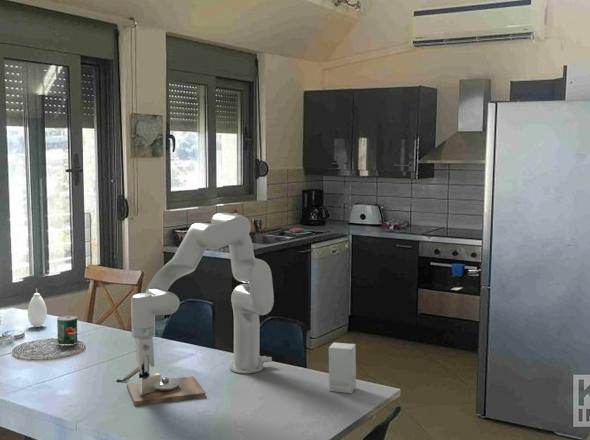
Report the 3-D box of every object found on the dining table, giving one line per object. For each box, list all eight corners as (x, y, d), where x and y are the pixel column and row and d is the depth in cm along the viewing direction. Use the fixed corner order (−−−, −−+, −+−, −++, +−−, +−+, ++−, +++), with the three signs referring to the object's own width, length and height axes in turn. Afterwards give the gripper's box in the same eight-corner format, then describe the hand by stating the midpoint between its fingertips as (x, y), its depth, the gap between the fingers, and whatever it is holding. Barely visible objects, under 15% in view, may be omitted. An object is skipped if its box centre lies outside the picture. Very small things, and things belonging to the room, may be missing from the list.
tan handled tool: (133, 386, 237) (133, 383, 237) (115, 383, 238) (115, 380, 238) (159, 366, 257) (159, 364, 257) (143, 363, 259) (143, 360, 258)
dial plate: (193, 380, 241) (193, 375, 241) (205, 396, 225) (205, 392, 225) (126, 388, 232) (126, 383, 232) (134, 405, 217) (134, 400, 216)
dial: (167, 379, 235) (167, 365, 235) (184, 385, 229) (184, 371, 229) (132, 390, 224) (132, 376, 224) (149, 397, 219) (149, 382, 218)
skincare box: (356, 388, 235) (357, 343, 234) (351, 394, 229) (352, 349, 227) (332, 384, 238) (333, 341, 236) (327, 391, 232) (328, 346, 230)
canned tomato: (74, 346, 279) (73, 320, 278) (54, 346, 279) (54, 319, 278) (80, 341, 287) (79, 315, 286) (61, 340, 287) (61, 315, 286)
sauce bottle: (24, 328, 304) (23, 289, 302) (34, 324, 312) (33, 285, 310) (41, 329, 303) (40, 290, 301) (50, 325, 311) (49, 286, 309)
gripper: (158, 336, 219) (159, 391, 221) (151, 324, 233) (152, 376, 235) (134, 338, 216) (136, 394, 218) (128, 326, 230) (130, 379, 232)
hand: (144, 385), depth 227 cm, fingers closed
